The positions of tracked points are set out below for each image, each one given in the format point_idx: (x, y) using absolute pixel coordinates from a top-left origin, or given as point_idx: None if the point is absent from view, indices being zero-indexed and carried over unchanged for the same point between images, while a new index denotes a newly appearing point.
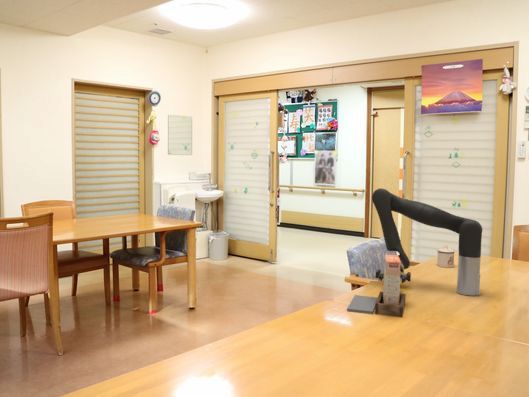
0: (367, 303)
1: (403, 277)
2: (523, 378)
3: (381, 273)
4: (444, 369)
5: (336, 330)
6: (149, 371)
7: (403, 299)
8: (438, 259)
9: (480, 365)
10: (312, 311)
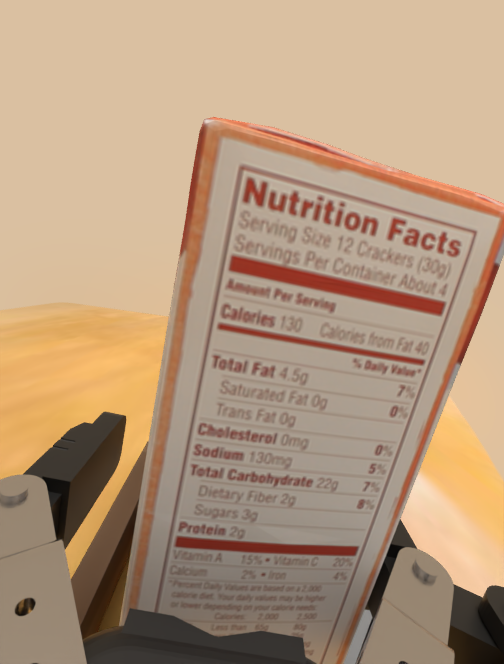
0: (361, 643)
1: (102, 416)
2: (30, 306)
3: (406, 550)
4: (139, 327)
5: None
6: None
7: (85, 570)
8: None
9: (72, 323)
10: (488, 506)
